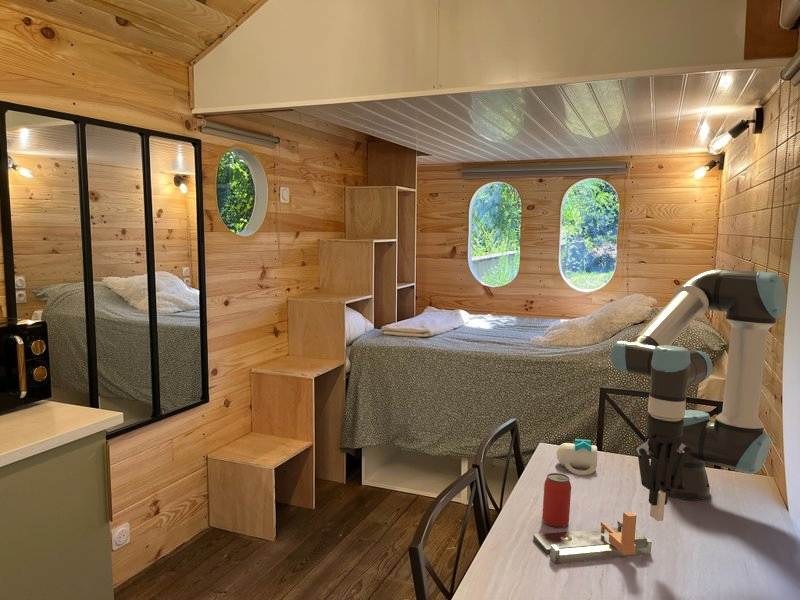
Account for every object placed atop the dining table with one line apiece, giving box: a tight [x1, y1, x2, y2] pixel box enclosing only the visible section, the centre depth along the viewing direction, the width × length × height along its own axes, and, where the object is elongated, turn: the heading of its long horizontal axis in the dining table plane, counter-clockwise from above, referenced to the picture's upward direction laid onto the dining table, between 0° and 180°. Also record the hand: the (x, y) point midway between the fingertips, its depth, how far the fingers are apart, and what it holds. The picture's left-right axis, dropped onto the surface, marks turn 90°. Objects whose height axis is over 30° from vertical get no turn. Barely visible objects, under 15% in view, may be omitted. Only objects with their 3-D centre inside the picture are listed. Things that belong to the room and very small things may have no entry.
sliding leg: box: [600, 511, 637, 555], centre depth 141 cm, size 3×12×10 cm, turn 13°
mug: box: [556, 438, 598, 476], centre depth 191 cm, size 12×9×12 cm
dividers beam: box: [549, 519, 653, 565], centre depth 142 cm, size 24×9×4 cm, turn 103°
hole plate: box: [532, 526, 622, 555], centre depth 146 cm, size 24×7×1 cm, turn 103°
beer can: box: [541, 472, 572, 528], centre depth 155 cm, size 7×7×12 cm
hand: (656, 518), depth 138 cm, fingers closed
